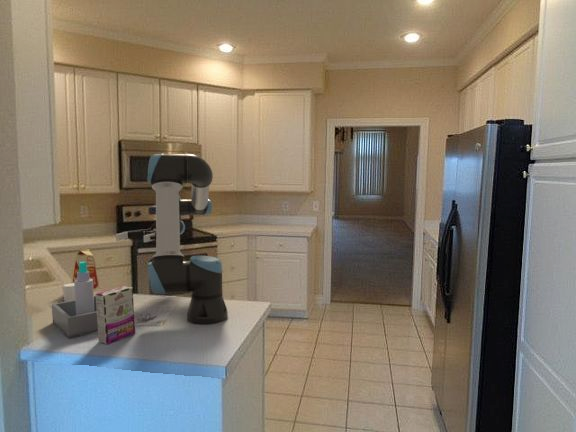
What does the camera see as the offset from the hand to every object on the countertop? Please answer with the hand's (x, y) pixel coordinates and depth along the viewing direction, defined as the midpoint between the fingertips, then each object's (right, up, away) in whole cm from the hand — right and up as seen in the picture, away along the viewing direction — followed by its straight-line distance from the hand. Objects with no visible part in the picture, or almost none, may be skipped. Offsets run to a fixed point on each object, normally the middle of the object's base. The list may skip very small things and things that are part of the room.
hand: (130, 238), depth 175 cm
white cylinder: (-29, -27, +9) cm, 41 cm away
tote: (-9, -30, -20) cm, 37 cm away
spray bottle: (-9, -29, -20) cm, 37 cm away
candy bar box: (+7, -32, -32) cm, 46 cm away
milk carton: (-30, -26, +26) cm, 48 cm away
